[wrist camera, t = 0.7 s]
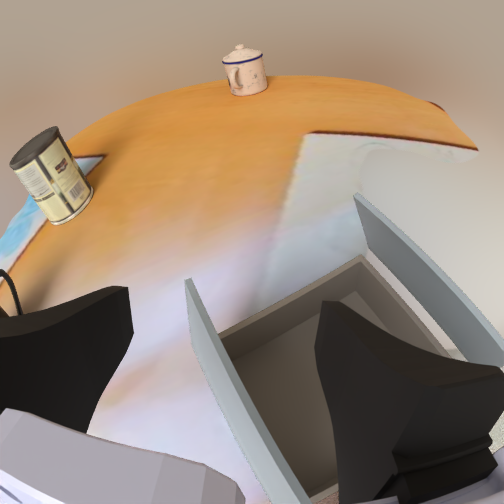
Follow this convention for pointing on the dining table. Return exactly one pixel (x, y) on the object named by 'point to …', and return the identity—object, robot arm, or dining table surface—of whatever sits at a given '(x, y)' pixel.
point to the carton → (312, 364)
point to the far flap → (431, 288)
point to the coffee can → (52, 176)
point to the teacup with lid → (245, 71)
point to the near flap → (240, 408)
